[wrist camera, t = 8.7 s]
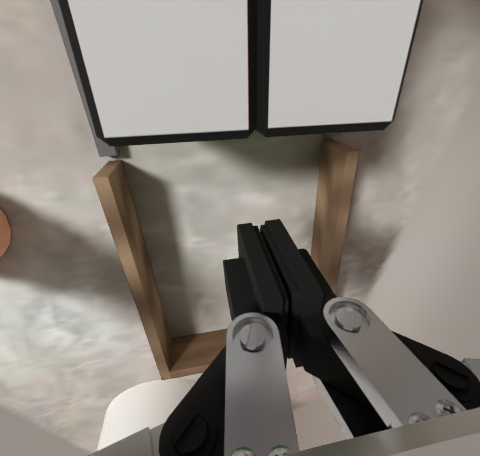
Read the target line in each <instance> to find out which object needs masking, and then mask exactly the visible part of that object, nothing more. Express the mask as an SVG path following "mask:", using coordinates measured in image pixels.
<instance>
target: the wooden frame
mask: <svg viewBox="0 0 480 456" xmlns="http://www.w3.org/2000/svg"><path fill="white" fill-rule="evenodd" d="M358 154H359V151H358V150H355V149H353V148H351V147H348V146H346V145H344V144H341V143H339V142H337V141H334V140H325V141H322V147H321V157H320V167H319V177H318V188H317V198H316V208H315V219H314V229H313V239H312V249H311V258H312V259H313V261H314V262H315V264H316V266H317V267H318V269H319V270H320V272H321V273H322V275H323V277H324V278H325V280H326V281H327V283H328V284H329V286H330V287H331V289H332V291H333V292H334V294H335V291H336V285H337V279H338V274H339V268H340V262H341V256H342V250H343V244H344V238H345V232H346V226H347V220H348V214H349V208H350V202H351V196H352V190H353V184H354V178H355V172H356V166H357V160H358ZM92 179H93V182H94V184H95V187H96V190H97V193H98V196H99V199H100V202H101V205H102V208H103V211H104V213H105V216H106V219H107V222H108V225H109V228H110V231H111V234H112V237H113V240H114V242H115V245H116V248H117V251H118V254H119V257H120V260H121V263H122V266H123V269H124V272H125V274H126V277H127V280H128V283H129V286H130V289H131V292H132V295H133V298H134V301H135V303H136V306H137V309H138V312H139V315H140V318H141V321H142V324H143V327H144V330H145V332H146V335H147V338H148V341H149V344H150V347H151V350H152V353H153V356H154V359H155V361H156V364H157V367H158V370H159V373H160V376H161V379H162V380H167V379H172V378H177V377H183V376H188V375H193V374H198V373H203V372H205V370H206V369H207V368H208V367H209V365H210V364H211V363H212V362H213V360H214V359H215V358H216V357H217V355H218V354H219V353H220V352H221V350H222V349H223V348H224V347H225V345H226V335H227V330H228V329H224V330H219V331H213V332H207V333H202V334H196V335H190V336H185V337H179V338H173V339H171V336H170V333H169V329H168V326H167V322H166V318H165V315H164V311H163V308H162V304H161V300H160V297H159V293H158V290H157V286H156V282H155V279H154V275H153V271H152V268H151V264H150V261H149V257H148V253H147V250H146V246H145V243H144V239H143V235H142V232H141V228H140V225H139V221H138V217H137V214H136V210H135V207H134V203H133V199H132V196H131V192H130V189H129V185H128V181H127V178H126V174H125V171H124V167H123V163H122V160H115V161H108V163H107V164H106V165H105V166H104V167H103V168H102V169H101V170H100V171H99V172H98V173H97V174H96V175H95V176H94V177H93V178H92Z"/></svg>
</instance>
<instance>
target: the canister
mask: <svg viewBox="0 0 480 456" xmlns="http://www.w3.org/2000/svg"><path fill="white" fill-rule="evenodd" d="M196 382H197V381H193V380H187V379H167V380H162V379H161V380H155V381H150V382H146V383H142V384H139V385H137V386H134V387H132V388H130V389H128V390H126V391H124V392H123V393H121V394H120V395H118V396H117V397H116V398H115V399H114V400H113V401H112V402H111V403H110V405H109V407H108V409H107V412H106V416H105V420H104V424H103V428H102V432H101V436H100V440H99V444H98V448H97V451H99V450H101V449H103V448H105V447H107V446H109V445H111V444H113V443H115V442H117V441H119V440H122V439H124V438H126V437H128V436H130V435H132V434H134V433H136V432H138V431H140V430H142V429H144V428H146V427H149V429H152V428H154V427H156V426H158V425H160V424H163V423H165V422H166V420H167V419H168V417H169V415H170V414H171V413H172V412H173V410H174V409H175V408H176V407H177V405H178V404H179V403H180V402H181V400H182V399H183V398H184V397H185V395H186V394H187V393H188V392H189V390H190V389H191V388H192V387H193V385H194V384H195V383H196Z"/></svg>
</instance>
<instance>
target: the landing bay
mask: <svg viewBox="0 0 480 456" xmlns="http://www.w3.org/2000/svg"><path fill="white" fill-rule="evenodd" d="M50 1H51V4H52V7H53V11H54V14H55V17H56V20H57V23H58V26H59V30H60V33H61V36H62V39H63V42H64V45H65V48H66V52H67V55H68V58H69V61H70V64H71V67H72V71H73V74H74V77H75V80H76V83H77V86H78V90H79V93H80V96H81V99H82V102H83V105H84V108H85V112H86V115H87V118H88V121H89V124H90V127H91V131H92V134H93V137H94V140H95V143H96V146H97V150H98V153H99V156H100V157H104V156H114V155H117V154H118V153H119V149H118V146H111V147H110V146H109V145H107V144H106V143H105V142H103V141H102V140H101V139H99V138H98V137H97V136H96V133H95V129H94V126H93V122H92V119H91V115H90V111H89V108H88V104H87V101H86V97H85V94H84V90H83V87H82V83H81V80H80V76H79V73H78V69H77V65H76V62H75V58H74V55H73V51H72V48H71V44H70V41H69V37H68V34H67V30H66V26H65V23H64V19H63V16H62V12H61V9H60V5H59V2H58V0H50ZM324 134H325V135H327V136H329V135H340V134H342V132H341V133H324Z"/></svg>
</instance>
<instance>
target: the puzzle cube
mask: <svg viewBox="0 0 480 456" xmlns="http://www.w3.org/2000/svg"><path fill="white" fill-rule="evenodd" d="M58 2H59V5H60V9H61V12H62V16H63V19H64V23H65V26H66V30H67V34H68V37H69V41H70V44H71V48H72V51H73V55H74V58H75V62H76V65H77V69H78V73H79V76H80V80H81V83H82V87H83V90H84V94H85V97H86V101H87V104H88V108H89V111H90V115H91V119H92V122H93V126H94V129H95V133H96V136H97V137H98V138H99V139H101V140H102V141H103V142H105V143H106V144H107V145H109V146H110V147H111V146H127V145H144V144H161V143H177V142H194V141H210V140H227V139H244V138H248V137H249V136H250V134H251V133H252V132H253V131H254V130H255V129H256V130H257V131H258V132H260V133H261V134H262V135H263V136H265V137H274V136H291V135H308V134H324V133H341V132H357V131H374V130H384V129H385V128H386V127H387V126H388V125H389V124H390V123H391V122H392V121H394V118H395V114H396V110H397V106H398V102H399V98H400V94H401V89H402V85H403V81H404V77H405V73H406V69H407V65H408V61H409V57H410V52H411V48H412V44H413V40H414V36H415V32H416V28H417V24H418V20H419V16H420V11H421V7H422V3H423V0H58Z"/></svg>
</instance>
